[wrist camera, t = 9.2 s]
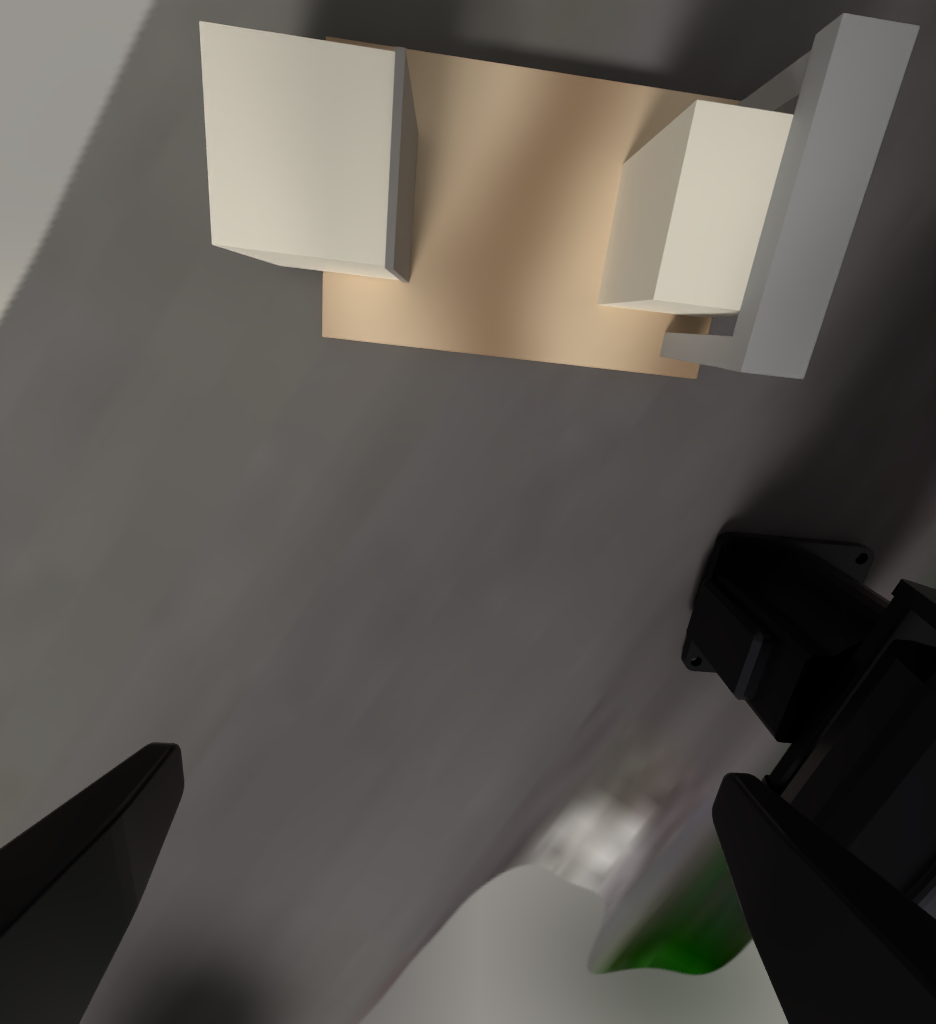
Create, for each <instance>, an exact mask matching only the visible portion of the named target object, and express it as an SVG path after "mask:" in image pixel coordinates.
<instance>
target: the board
mask: <svg viewBox="0 0 936 1024" xmlns="http://www.w3.org/2000/svg"><path fill="white" fill-rule="evenodd" d="M325 41H331V42H337V43H343V44H350V45H356V46H363V47H369V48H376V49H382V50H388V51H395V47H391V46H385V45H379V44H372V43H366V42H359V41H353V40H347V39H340V38H334V37H327V36H326V38H325ZM406 55H407V61H408V68H409V74H410V81H411V87H412V94H413V100H414V107H415V113H416V120H417V126H418V148H417V164H416V179H415V195H414V210H413V226H412V242H411V257H410V273H409V283H403V282H401V281H400V280H393V279H384V278H376V277H368V276H360V275H352V274H344V273H336V272H327V271H323V323H322V337H330V338H339V339H348V340H357V341H365V342H374V343H383V344H392V345H401V346H410V347H418V348H427V349H436V350H445V351H454V352H463V353H471V354H480V355H489V356H498V357H507V358H516V359H524V360H533V361H542V362H551V363H560V364H569V365H578V366H586V367H595V368H604V369H613V370H622V371H631V372H639V373H648V374H657V375H666V376H675V377H684V378H692V379H696V378H697V374H698V370H699V366H700V364H698V363H692V362H687V361H681V360H676V359H670V358H665V357H659V355H660V351H661V347H662V342H663V338H664V334H665V332H669V333H685V334H700V335H708V331H709V328H710V324H711V320H712V317H694V316H686V315H678V314H669V313H661V312H653V311H645V310H637V309H629V308H620V307H612V306H604V305H597V301H598V296H599V290H600V285H601V280H602V274H603V269H604V263H605V258H606V252H607V247H608V241H609V236H610V231H611V225H612V220H613V214H614V209H615V203H616V198H617V193H618V187H619V182H620V176H621V171H622V165H623V164H624V163H625V162H626V161H627V160H628V159H630V158H631V157H632V156H633V155H634V154H635V153H637V152H638V151H639V150H640V149H641V148H642V147H643V146H645V145H646V144H647V143H648V142H649V141H650V140H651V139H653V138H654V137H655V136H656V135H657V134H658V133H659V132H661V131H662V130H663V129H664V128H665V127H666V126H667V125H669V124H670V123H671V122H672V121H673V120H674V119H675V118H677V117H678V116H679V115H680V114H681V113H682V112H683V111H685V110H686V109H687V108H688V107H689V106H690V105H691V104H693V103H694V102H695V101H696V100H703V101H709V102H716V103H722V104H729V105H735V106H736V105H737V104H738V103H740V102H741V101H737V100H731V99H724V98H718V97H712V96H705V95H699V94H692V93H686V92H680V91H673V90H667V89H660V88H654V87H648V86H641V85H635V84H628V83H622V82H616V81H609V80H603V79H596V78H590V77H584V76H577V75H571V74H564V73H558V72H551V71H545V70H539V69H532V68H526V67H519V66H513V65H507V64H500V63H494V62H487V61H481V60H475V59H468V58H462V57H455V56H449V55H443V54H436V53H430V52H423V51H417V50H411V49H406Z"/></svg>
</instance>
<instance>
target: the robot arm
mask: <svg viewBox="0 0 936 1024" xmlns="http://www.w3.org/2000/svg"><path fill="white" fill-rule="evenodd" d="M731 542H734V544H733V546H732V547H731V548H729V549H727V546H728V544H729V543H731ZM859 554H860V556H859V558H857V559H856V557H857V556H858V555H859ZM873 558H874V553H873V551H872V550H871V549H870V548H868V547H866V546H864V545H862V544H858V543H847V542H836V541H825V540H814V539H803V538H792V537H781V536H770V535H758V534H747V533H736V532H727V533H724V534H722V535H721V536H720V537H719V538H718V539H717V541H716V544H715V547H714V551H713V554H712V557H711V560H710V564H709V567H708V570H707V574H706V577H705V580H704V581H703V582H702V583H701V586H700V589H699V592H698V595H697V599H696V602H695V605H694V609H693V612H692V615H691V619H690V622H689V625H688V628H687V634H688V636H687V639H686V642H685V646H684V649H683V652H682V656H681V659H682V661H683V663H684V665H685V666H686V668H688V669H689V670H692V671H701V672H715V673H717V674H718V675H719V676H720V677H721V679H722V680H723V681H724V683H725V684H726V685H727V687H728V688H729V689H730V691H731V692H732V693H733V695H734V696H735V697H736V698H737V699H738V700H745V701H746V702H747V703H748V705H749V706H750V707H751V708H752V710H753V711H754V712H755V714H756V715H757V716H758V717H759V719H760V720H761V721H762V722H763V724H764V725H765V726H766V728H767V729H768V730H769V731H770V733H771V734H772V735H773V737H774V738H775V739H776V740H777V741H778V742H783V743H792V744H791V745H790V747H789V748H788V749H787V751H786V752H785V754H784V755H783V757H782V758H781V759H780V761H779V762H778V764H777V765H776V767H775V768H774V769H773V771H772V772H771V774H770V775H765V776H764V778H763V779H762V781H760V780H759V779H758V778H756V777H755V776H753V775H751V774H747V773H727V774H726V775H725V776H724V778H723V780H722V782H721V785H720V788H719V790H718V793H717V796H716V798H715V801H714V804H713V807H712V818H713V823H714V826H715V829H716V832H717V835H718V838H719V841H720V844H721V848H722V851H723V854H724V857H725V860H726V863H727V866H728V869H729V872H730V875H731V878H732V881H733V884H734V887H735V890H736V893H737V896H738V900H739V903H740V906H741V909H742V911H743V914H744V917H745V920H746V923H747V925H748V928H749V930H750V933H751V935H752V938H753V940H754V943H755V945H756V947H757V950H758V952H759V954H760V957H761V959H762V962H763V964H764V966H765V969H766V971H767V973H768V976H769V978H770V981H771V983H772V985H773V988H774V990H775V992H776V995H777V997H778V999H779V1002H780V1004H781V1007H782V1009H783V1011H784V1014H785V1016H786V1018H787V1021H788V1023H789V1024H936V589H933V588H930V587H927V586H924V585H921V584H918V583H915V582H912V581H908V580H905V579H901V580H900V582H899V583H898V585H897V586H896V588H895V589H894V591H893V592H892V593H891V594H892V595H893V596H894V598H893V599H892V600H891V602H890V601H889V600H887V599H885V598H884V597H882V596H881V595H879V594H878V593H876V592H874V591H873V590H871V589H870V588H868V587H867V586H865V585H863V582H864V580H865V578H866V575H867V573H868V571H869V568H870V566H871V564H872V561H873ZM694 657H697V659H695V660H693V661H691V660H692V659H693V658H694ZM183 790H184V774H183V765H182V756H181V749H180V747H179V745H178V744H175V743H159V742H154V743H150V744H148V745H146V746H144V747H143V748H142V749H140V750H139V751H137V752H136V753H135V754H133V755H132V756H130V757H129V758H128V759H126V760H125V761H123V762H122V763H120V764H119V765H118V766H116V767H115V768H113V769H112V770H111V771H109V772H108V773H106V774H105V775H103V776H102V777H101V778H99V779H98V780H96V781H95V782H94V783H92V784H91V785H89V786H88V787H87V788H85V789H84V790H82V791H81V792H79V793H78V794H77V795H75V796H74V797H72V798H71V799H70V800H68V801H67V802H65V803H64V804H63V805H61V806H60V807H58V808H57V809H55V810H54V811H53V812H51V813H50V814H48V815H47V816H46V817H44V818H43V819H41V820H40V821H38V822H37V823H36V824H34V825H33V826H31V827H30V828H29V829H27V830H26V831H24V832H23V833H22V834H20V835H19V836H17V837H16V838H14V839H13V840H12V841H10V842H9V843H7V844H6V845H5V846H3V847H2V848H0V1024H79V1023H80V1021H81V1019H82V1017H83V1015H84V1013H85V1011H86V1009H87V1007H88V1005H89V1003H90V1001H91V999H92V997H93V995H94V993H95V991H96V989H97V987H98V985H99V983H100V981H101V979H102V978H103V976H104V974H105V972H106V970H107V968H108V966H109V964H110V962H111V960H112V958H113V956H114V954H115V952H116V950H117V948H118V946H119V944H120V942H121V940H122V938H123V936H124V934H125V932H126V930H127V928H128V926H129V924H130V922H131V920H132V918H133V916H134V914H135V912H136V909H137V907H138V905H139V903H140V900H141V898H142V896H143V893H144V891H145V889H146V886H147V884H148V881H149V878H150V876H151V873H152V871H153V868H154V866H155V863H156V861H157V858H158V856H159V853H160V851H161V848H162V846H163V843H164V841H165V838H166V836H167V833H168V831H169V828H170V826H171V823H172V821H173V818H174V815H175V813H176V810H177V808H178V805H179V803H180V800H181V798H182V794H183Z"/></svg>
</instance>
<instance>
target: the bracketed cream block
mask: <svg viewBox="0 0 936 1024" xmlns="http://www.w3.org/2000/svg"><path fill="white" fill-rule="evenodd" d="M919 28H920V26H917V25H911V24H906V23H900V22H894V21H888V20H882V19H877V18H871V17H865V16H859V15H853V14H848V13H843V14H841V15H840V16H839V17H838V18H836V19H835V20H834V21H832V22H831V23H830V24H828V25H827V26H826V27H825V28H823V29H822V30H821V31H819V32H818V33H817V34H816V36H815V39H814V43H813V47H812V50H810V51H809V52H808V53H806V54H805V55H804V56H802V57H801V58H799V59H798V60H797V61H795V62H794V63H793V64H791V65H790V66H789V67H787V68H786V69H785V70H783V71H782V72H780V73H779V74H778V75H776V76H775V77H774V78H772V79H771V80H770V81H768V82H767V83H766V84H764V85H763V86H761V87H760V88H759V89H757V90H756V91H755V92H753V93H752V94H751V95H749V96H748V97H747V98H745V99H744V100H742V101H741V102H740V103H738V104H737V105H736V106H735V105H729V104H722V103H716V102H709V101H703V100H696V101H695V102H694V103H693V104H691V105H690V106H689V107H688V108H687V109H686V110H685V111H683V112H682V113H681V114H680V115H679V116H678V117H677V118H675V119H674V120H673V121H672V122H671V123H670V124H669V125H667V126H666V127H665V128H664V129H663V130H662V131H661V132H659V133H658V134H657V135H656V136H655V137H654V138H653V139H651V140H650V141H649V142H648V143H647V144H646V145H645V146H643V147H642V148H641V149H640V150H639V151H638V152H637V153H635V154H634V155H633V156H632V157H631V158H630V159H628V160H627V161H626V162H625V163H624V164H623V165H622V171H621V176H620V182H619V187H618V193H617V198H616V203H615V209H614V214H613V220H612V225H611V231H610V236H609V241H608V247H607V252H606V258H605V263H604V269H603V274H602V280H601V285H600V290H599V296H598V301H597V305H604V306H612V307H620V308H629V309H637V310H645V311H653V312H661V313H669V314H678V315H686V316H694V317H738V319H737V323H736V326H735V330H734V334H733V337H731V336H715V335H700V334H685V333H669V332H665V334H664V338H663V342H662V347H661V351H660V355H659V357H665V358H670V359H676V360H681V361H687V362H692V363H698V364H703V365H709V366H714V367H720V368H724V369H727V370H732V371H738V372H744V373H753V374H762V375H771V376H779V377H788V378H797V379H804V376H805V373H806V370H807V367H808V364H809V361H810V358H811V355H812V352H813V349H814V346H815V343H816V340H817V337H818V334H819V331H820V328H821V325H822V322H823V319H824V315H825V312H826V309H827V306H828V303H829V300H830V297H831V294H832V291H833V288H834V285H835V282H836V279H837V276H838V273H839V270H840V267H841V264H842V261H843V258H844V255H845V252H846V249H847V246H848V243H849V240H850V237H851V234H852V231H853V228H854V225H855V222H856V219H857V216H858V212H859V209H860V206H861V203H862V200H863V197H864V194H865V191H866V188H867V185H868V182H869V179H870V176H871V173H872V170H873V167H874V164H875V161H876V158H877V155H878V152H879V149H880V146H881V143H882V140H883V137H884V134H885V131H886V128H887V125H888V122H889V119H890V116H891V113H892V110H893V106H894V103H895V100H896V97H897V94H898V91H899V88H900V85H901V82H902V79H903V76H904V73H905V70H906V67H907V64H908V61H909V58H910V55H911V52H912V49H913V46H914V43H915V40H916V37H917V34H918V31H919Z"/></svg>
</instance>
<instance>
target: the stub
mask: <svg viewBox="0 0 936 1024" xmlns="http://www.w3.org/2000/svg"><path fill="white" fill-rule="evenodd" d="M199 24H200V42H201V59H202V77H203V94H204V112H205V129H206V147H207V164H208V182H209V199H210V217H211V234H212V245H215V246H218V247H222V248H225V249H228V250H231V251H234V252H238V253H241V254H244V255H247V256H250V257H254V258H257V259H260V260H263V261H266V262H270V263H273V264H276V265H279V266H287V267H295V268H303V269H311V270H319V271H327V272H336V273H344V274H352V275H360V276H368V277H376V278H384V279H393V280H400V281H401V282H403V283H409V273H410V257H411V242H412V226H413V210H414V195H415V179H416V164H417V148H418V126H417V120H416V113H415V107H414V100H413V94H412V87H411V81H410V74H409V68H408V61H407V55H406V48H404V47H398V46H396V47H395V51H388V50H382V49H376V48H369V47H363V46H356V45H350V44H343V43H337V42H331V41H324V40H318V39H311V38H305V37H298V36H292V35H286V34H279V33H273V32H266V31H260V30H253V29H247V28H241V27H234V26H228V25H221V24H215V23H208V22H202V21H199Z"/></svg>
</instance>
